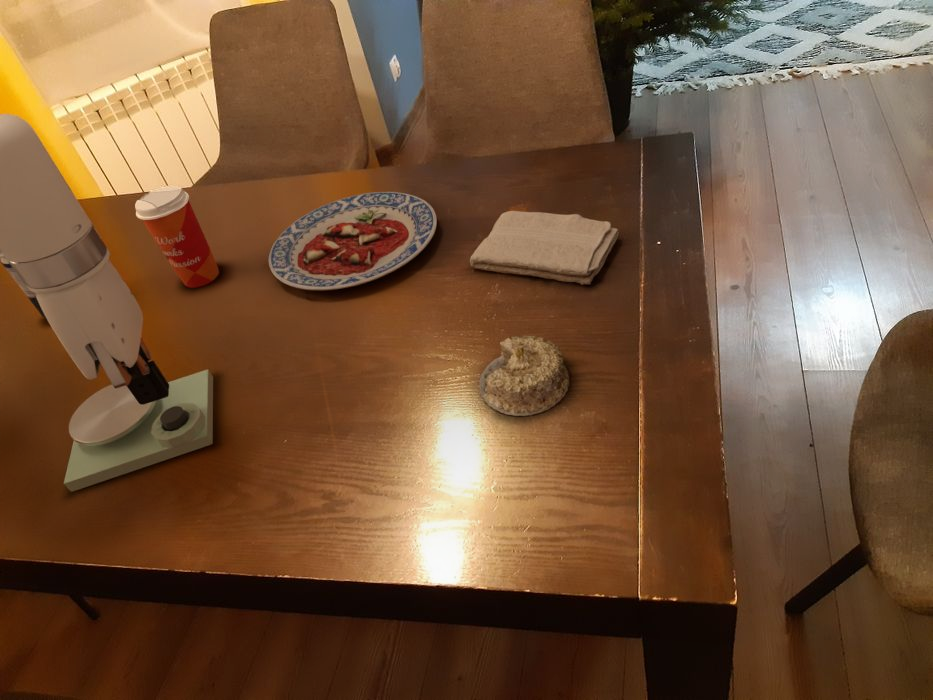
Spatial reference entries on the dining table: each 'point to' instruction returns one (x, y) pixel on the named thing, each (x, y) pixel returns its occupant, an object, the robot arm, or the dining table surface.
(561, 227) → the washcloth
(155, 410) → the scale
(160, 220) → the paper cup
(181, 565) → the dining table surface
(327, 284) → the ceramic plate
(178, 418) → the tare button
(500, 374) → the cake
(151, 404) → the weighing pan
